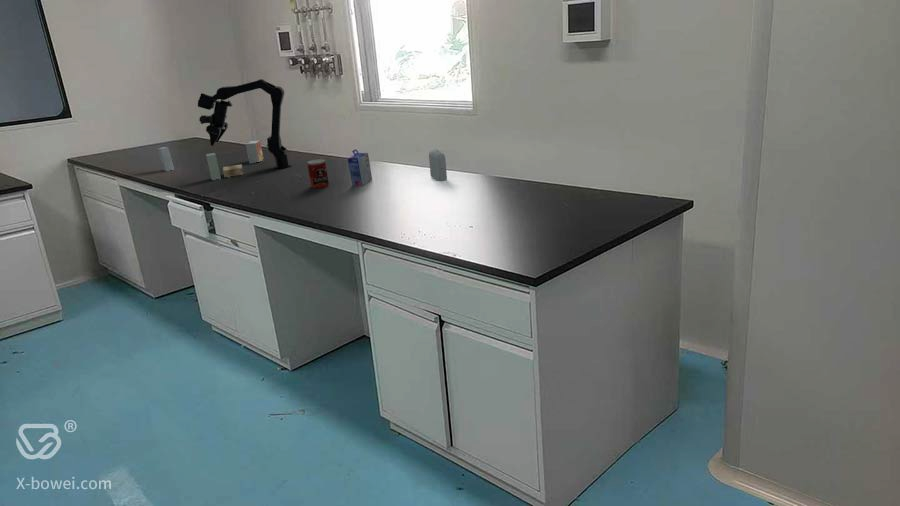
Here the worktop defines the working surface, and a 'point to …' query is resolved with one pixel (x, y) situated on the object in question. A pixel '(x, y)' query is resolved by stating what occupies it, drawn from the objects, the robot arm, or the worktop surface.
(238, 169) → the oak block
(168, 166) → the skincare box
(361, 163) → the ink cartridge box
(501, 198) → the worktop surface
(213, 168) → the sage post
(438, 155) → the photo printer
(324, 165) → the canned food
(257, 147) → the small box
